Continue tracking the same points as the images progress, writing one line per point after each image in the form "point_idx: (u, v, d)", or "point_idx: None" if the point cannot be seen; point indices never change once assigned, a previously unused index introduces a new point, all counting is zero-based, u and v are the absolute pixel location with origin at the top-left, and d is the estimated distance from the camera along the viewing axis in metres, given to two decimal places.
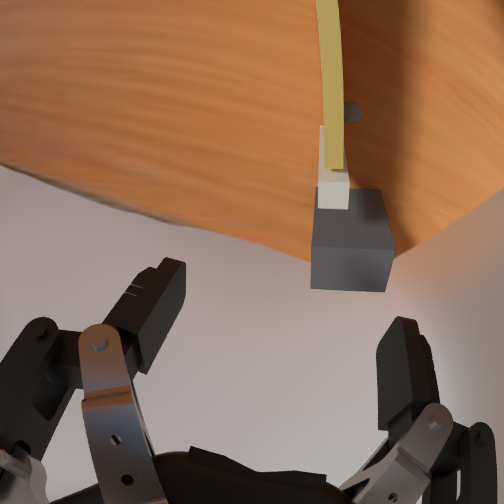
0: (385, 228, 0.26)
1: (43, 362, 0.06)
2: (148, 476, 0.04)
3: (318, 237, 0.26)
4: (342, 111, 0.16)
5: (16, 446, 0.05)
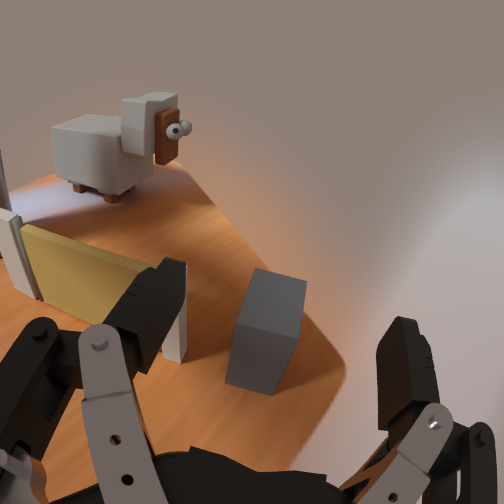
0: None
1: (43, 362, 0.06)
2: (148, 477, 0.04)
3: None
4: (119, 255, 0.25)
5: (16, 446, 0.05)
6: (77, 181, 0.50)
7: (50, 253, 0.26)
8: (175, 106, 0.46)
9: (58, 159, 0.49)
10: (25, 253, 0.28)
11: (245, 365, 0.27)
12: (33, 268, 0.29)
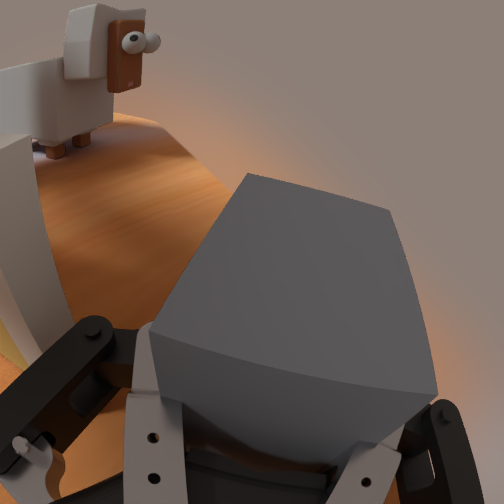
0: None
1: (90, 362, 0.07)
2: (175, 480, 0.04)
3: None
4: None
5: (41, 437, 0.05)
6: None
7: None
8: None
9: None
10: None
11: None
12: None
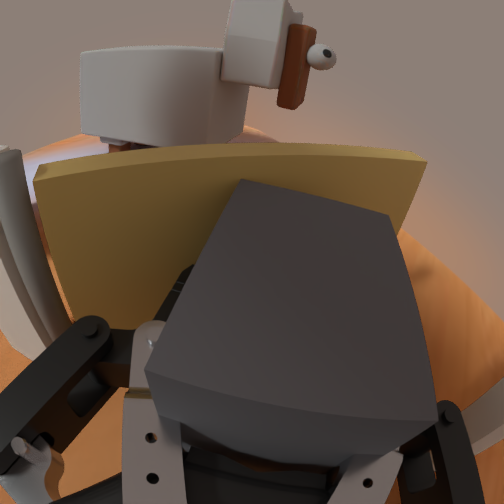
0: None
1: (87, 362, 0.07)
2: (174, 480, 0.04)
3: None
4: (366, 147, 0.13)
5: (39, 437, 0.05)
6: (121, 137, 0.31)
7: (186, 207, 0.10)
8: None
9: (87, 103, 0.29)
10: (34, 280, 0.09)
11: None
12: (78, 308, 0.10)
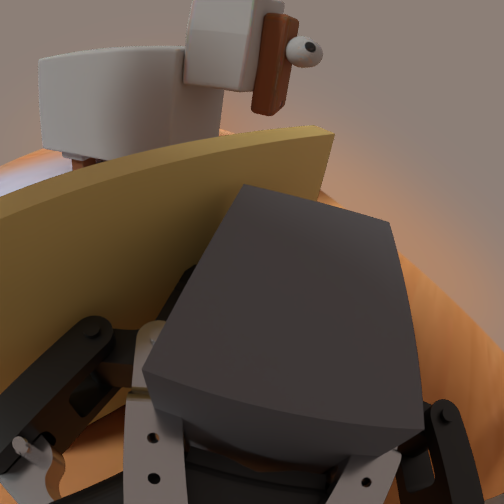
0: None
1: (90, 362, 0.07)
2: (175, 480, 0.04)
3: None
4: (260, 131, 0.11)
5: (41, 437, 0.05)
6: (80, 152, 0.26)
7: (52, 261, 0.07)
8: None
9: (46, 115, 0.25)
10: None
11: None
12: None
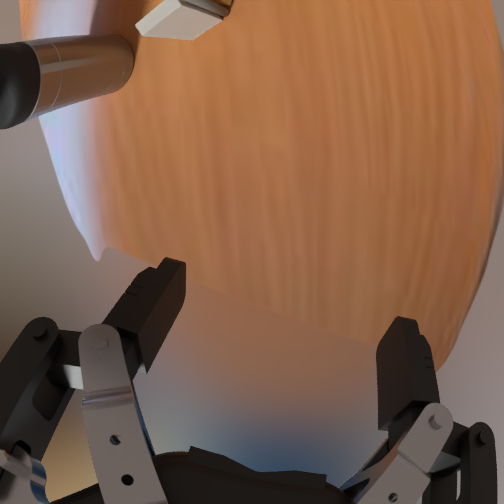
0: None
1: (43, 362, 0.06)
2: (148, 476, 0.04)
3: None
4: None
5: (16, 446, 0.05)
6: None
7: None
8: None
9: None
10: (207, 2, 0.22)
11: None
12: None
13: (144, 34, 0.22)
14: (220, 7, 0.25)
